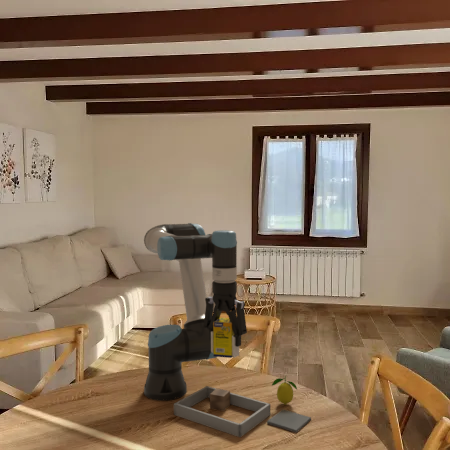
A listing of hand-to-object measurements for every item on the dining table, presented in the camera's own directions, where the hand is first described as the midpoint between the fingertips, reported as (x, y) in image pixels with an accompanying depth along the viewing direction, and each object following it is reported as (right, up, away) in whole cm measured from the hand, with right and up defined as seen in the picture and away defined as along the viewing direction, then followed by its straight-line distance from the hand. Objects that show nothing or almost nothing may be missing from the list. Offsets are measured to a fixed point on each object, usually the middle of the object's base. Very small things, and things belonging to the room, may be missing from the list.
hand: (225, 353), depth 154 cm
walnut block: (-2, -21, +11) cm, 24 cm away
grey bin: (-1, -21, +5) cm, 22 cm away
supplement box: (0, 0, 0) cm, 0 cm away
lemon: (+20, -21, +13) cm, 32 cm away
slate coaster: (+20, -21, 0) cm, 29 cm away
